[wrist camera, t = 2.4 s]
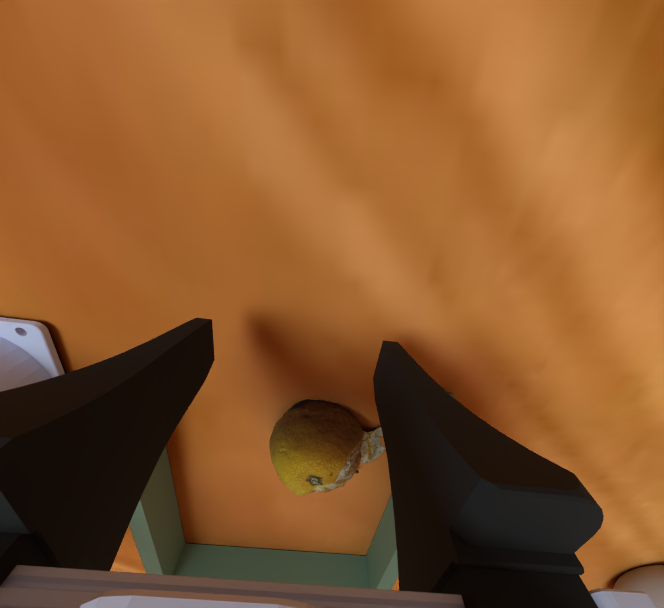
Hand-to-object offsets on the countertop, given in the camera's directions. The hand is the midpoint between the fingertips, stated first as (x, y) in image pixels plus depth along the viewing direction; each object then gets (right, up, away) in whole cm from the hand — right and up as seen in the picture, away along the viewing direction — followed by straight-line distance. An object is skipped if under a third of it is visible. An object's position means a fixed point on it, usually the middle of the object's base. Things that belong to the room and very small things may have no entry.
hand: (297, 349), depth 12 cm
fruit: (+2, -8, +8) cm, 11 cm away
